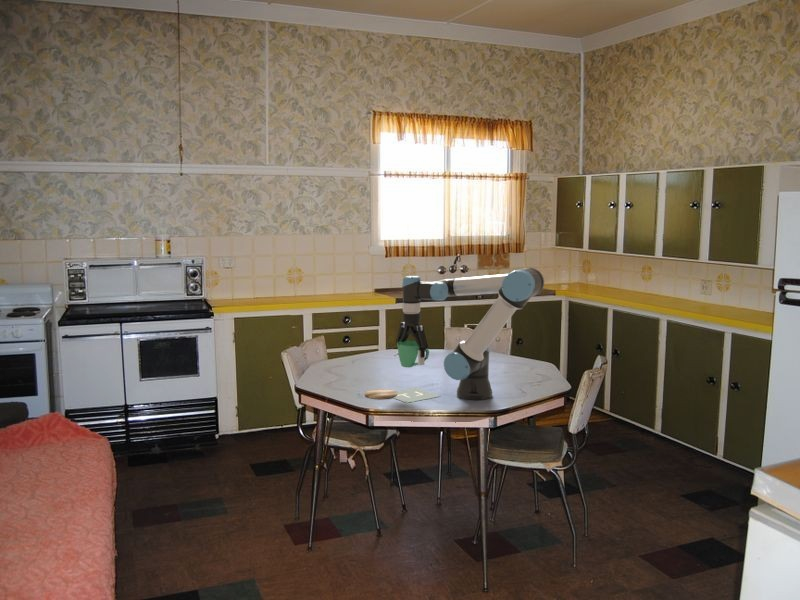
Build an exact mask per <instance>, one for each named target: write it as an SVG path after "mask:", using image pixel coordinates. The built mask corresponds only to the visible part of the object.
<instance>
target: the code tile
mask: <svg viewBox="0 0 800 600" xmlns="http://www.w3.org/2000/svg"><path fill="white" fill-rule="evenodd" d="M395 391H396V392H397V393H398V395H397V396H395V397H393V398H392V399H395V400H397V401H400V402H402V401H403V403H405V404H409V403H413V402H420V401H426V400H429V399H434V398H435V399H436V398H440V397H441V395H439V394H435V393H433V392H430V391H427V390H423V389H421V388H417V387H410V388H409V387H408V388H404V389H398V390H395Z"/></svg>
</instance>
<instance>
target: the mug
mask: <svg viewBox="0 0 800 600" xmlns="http://www.w3.org/2000/svg"><path fill="white" fill-rule="evenodd" d="M396 345H397V351H398V352H397V354H398V358H399V362H400V365H401V367H403V368H412V367H414V366H415V367H416V366H419V365H418V361H417V362H416V360H417V359H418V350H419V347H418V345H417V342H416V341H415V340H414V341H412V340H406V341H404V342H401V341H399V342H397V344H396ZM429 355H430V349H429V348H428V349H425V357H424V362H426V361H427V360H428V359H429V357H430V356H429Z"/></svg>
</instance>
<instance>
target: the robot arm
mask: <svg viewBox="0 0 800 600" xmlns="http://www.w3.org/2000/svg"><path fill="white" fill-rule="evenodd" d="M544 286H545V279H544V275H543V274H542V273H541V272H540V271H539V270H538V269H536V268H534V267H526V268H525V267H524V268H519V269H515V270H512V271H510V272H509V273H504V274H490V275H479V276H470V277H469V276H466V277H455V278H451V277H449V278H448V277H447V278H444V279H440V280H435V281H422V280H421V277H420V276H419V275H406V276H404V277H402V312H403V313H402V321H401V322H399V330H398V332H397V336H396V340H395V342H396V343H397V342H399V341H401V342H404V341H408V340H407V339H408V338H409V336H410V335H411V336H412V337H414V339H415V340H414V341H415V342H417V345H418V347H419V350H418V355H417V360H418V361H417V362H418V365H417V366H424V365H425V361H424V358H425V357H426V351H425V349H428V350H429V346H428V345H429V344H428V340H427V337H426V333H425V327H424V325H419V323H421V321H422V320H421V319H422V318H421V317H422V316H421V313H420V312H421V300H429V301H437V302H438V301H445V300H446V299H447V298H448V297H457V296H458V297H459V296H473V295H474V296H475V295H488V294H498V296H497V299H496V300H495V301H494V302H493V304H492V305H491V307H490V308H489V309H488V310H487V311H486V314H485V315H484V316H483V317H482V318H481V320H480V321H479V323H478V324H477V325H476V327H475V328H474V329H473V330H472V332H471V333H470V335H469V336H468V337H467V338H466V340H461V341H460V342H459V343H458V345H457V346H456V347H455V348H454V350H453V351H452V352H450V353H448V354H447V355H446V356H445V358H444V360H443V367H444V368H443V370H444V371H445V373H446V375H448V376H449V378H451V379H452V380H455V381H459V383H458V387H457V389H456V396H457V397H458V398H461V399H465V400H471V401H472V400H474V401H476V400H477V401H479V400H480V401H481V400H487V399H490V398H492V397H493V388H492V387H491V383H490V379H489V371H490V369H489V368H490V364H489V363H490V347H489V346H490V345H491V344H492V342H493V341H494V340H495V339H496V337H497V335H498V334H499V333H500V332H501V331H502V330H503V328H504V327H505V325H506V324H507V322H508V321H509V320H510V319H511V318H512V317H513V315H514V314H515V312H516V311H517V310H522V309H523V308H524V307H525V306H526V304H527V303H528V302H529V301H530V299H531V298H533V297H535V296H538V295H539V294H540V293H541V292H542V290H543V289H544Z"/></svg>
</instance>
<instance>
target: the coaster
mask: <svg viewBox="0 0 800 600" xmlns="http://www.w3.org/2000/svg"><path fill="white" fill-rule="evenodd" d="M396 391H397V390H392V389H385V388H383V389H382V388H379V389H377V388H376V389H370V390H367V391H365V393H364V396H365V397H367V398H369V399H373V400H389V399H394V398H393V397H395V396H397V395H398V393H397V392H396Z"/></svg>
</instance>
